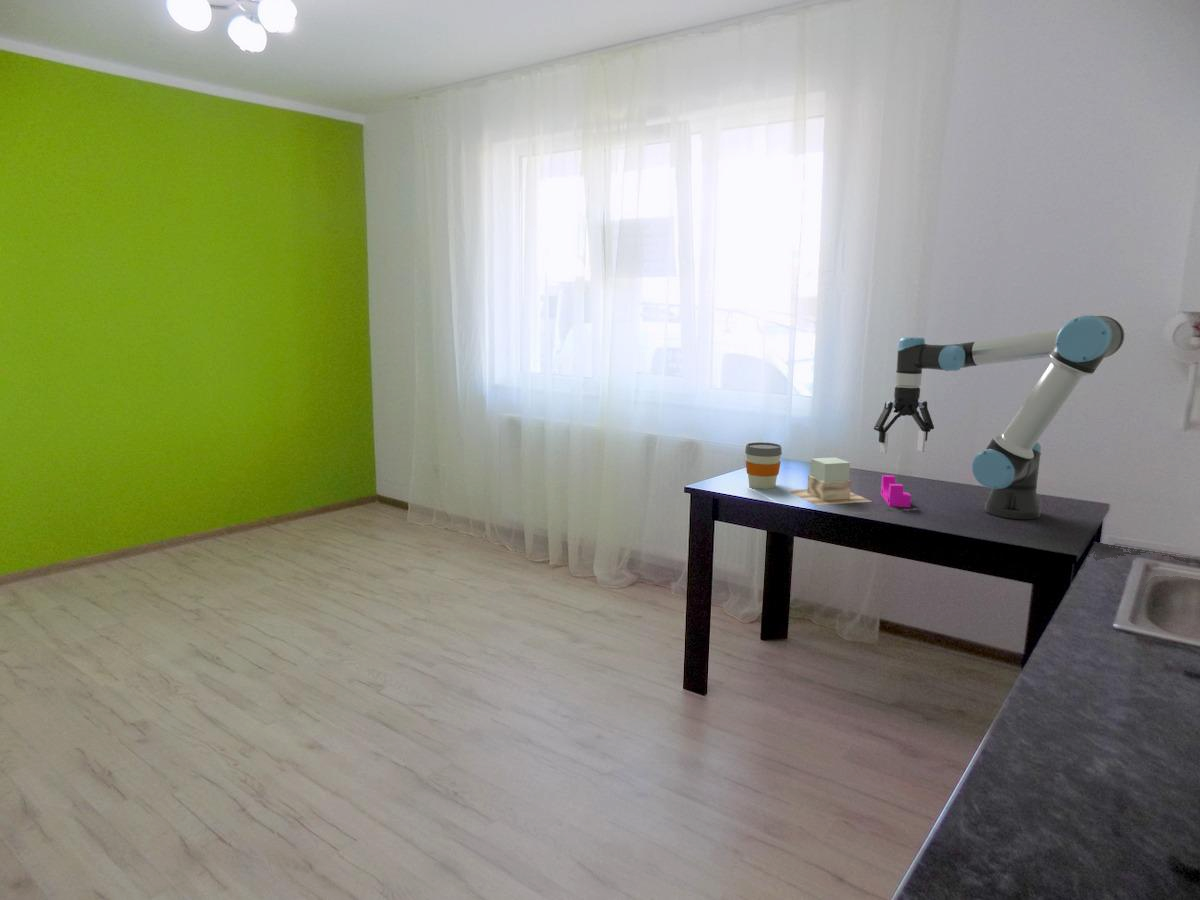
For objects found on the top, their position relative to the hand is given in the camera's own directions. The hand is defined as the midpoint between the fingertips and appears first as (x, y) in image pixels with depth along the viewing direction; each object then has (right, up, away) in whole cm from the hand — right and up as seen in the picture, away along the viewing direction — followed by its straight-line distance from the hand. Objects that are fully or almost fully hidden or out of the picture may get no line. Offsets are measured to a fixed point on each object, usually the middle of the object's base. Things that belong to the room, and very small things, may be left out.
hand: (902, 451), depth 243 cm
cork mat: (-21, -15, +9) cm, 28 cm away
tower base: (-21, -15, +9) cm, 27 cm away
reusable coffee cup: (-40, -13, +24) cm, 48 cm away
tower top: (-21, -9, +8) cm, 24 cm away
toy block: (-1, -17, +3) cm, 17 cm away
